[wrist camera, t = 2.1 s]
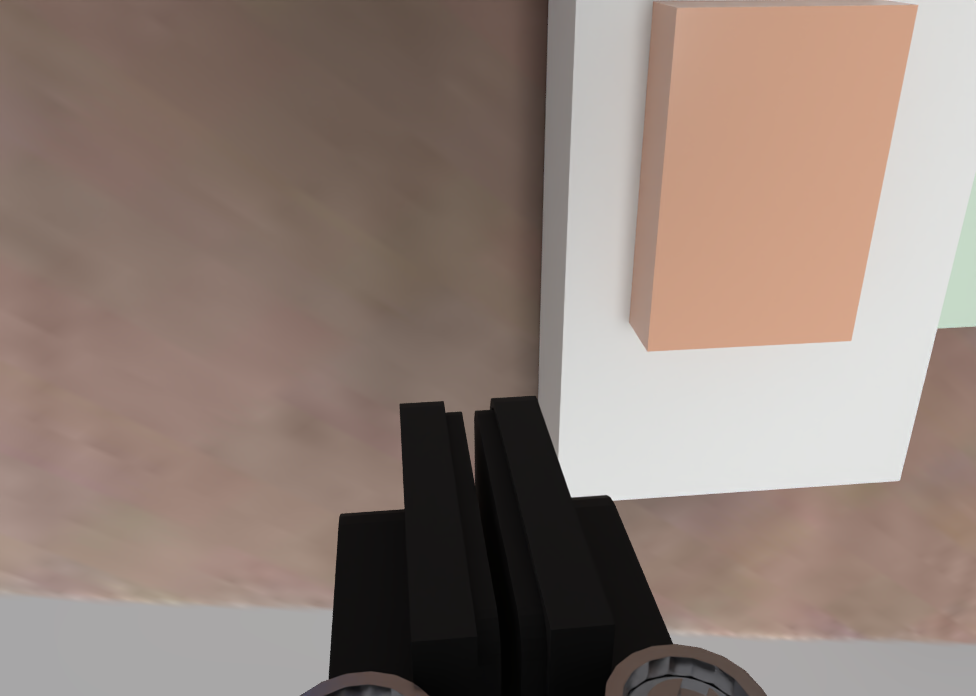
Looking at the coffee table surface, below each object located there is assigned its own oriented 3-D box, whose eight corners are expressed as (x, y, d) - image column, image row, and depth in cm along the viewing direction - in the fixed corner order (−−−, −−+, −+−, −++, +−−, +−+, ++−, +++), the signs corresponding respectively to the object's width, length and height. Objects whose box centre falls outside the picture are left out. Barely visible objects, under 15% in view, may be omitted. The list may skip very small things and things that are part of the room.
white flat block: (556, -277, 23) (588, -315, 19) (985, -268, 24) (1091, -302, 20) (536, 440, 32) (556, 504, 29) (844, 421, 34) (899, 480, 30)
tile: (653, 1, 22) (676, 7, 20) (876, -2, 23) (918, 4, 21) (628, 322, 26) (647, 351, 24) (819, 313, 27) (851, 341, 25)
